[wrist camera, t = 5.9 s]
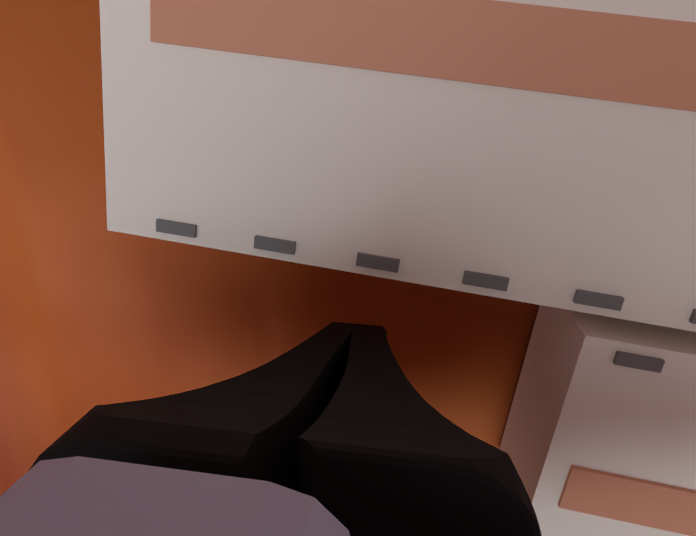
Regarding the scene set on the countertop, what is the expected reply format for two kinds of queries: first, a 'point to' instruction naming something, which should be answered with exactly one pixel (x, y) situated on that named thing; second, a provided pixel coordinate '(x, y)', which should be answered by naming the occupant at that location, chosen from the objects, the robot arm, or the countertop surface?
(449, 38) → the white striped box
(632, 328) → the stub
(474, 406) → the countertop surface
